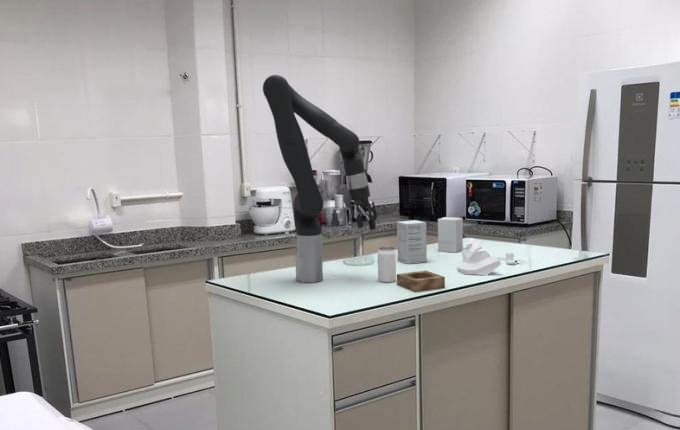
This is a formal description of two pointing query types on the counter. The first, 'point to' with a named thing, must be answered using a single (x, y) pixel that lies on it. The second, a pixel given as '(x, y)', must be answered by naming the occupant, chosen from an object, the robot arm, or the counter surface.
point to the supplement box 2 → (450, 234)
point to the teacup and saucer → (509, 258)
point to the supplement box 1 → (411, 241)
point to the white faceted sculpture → (477, 260)
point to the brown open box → (420, 281)
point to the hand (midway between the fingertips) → (366, 228)
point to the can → (386, 264)
